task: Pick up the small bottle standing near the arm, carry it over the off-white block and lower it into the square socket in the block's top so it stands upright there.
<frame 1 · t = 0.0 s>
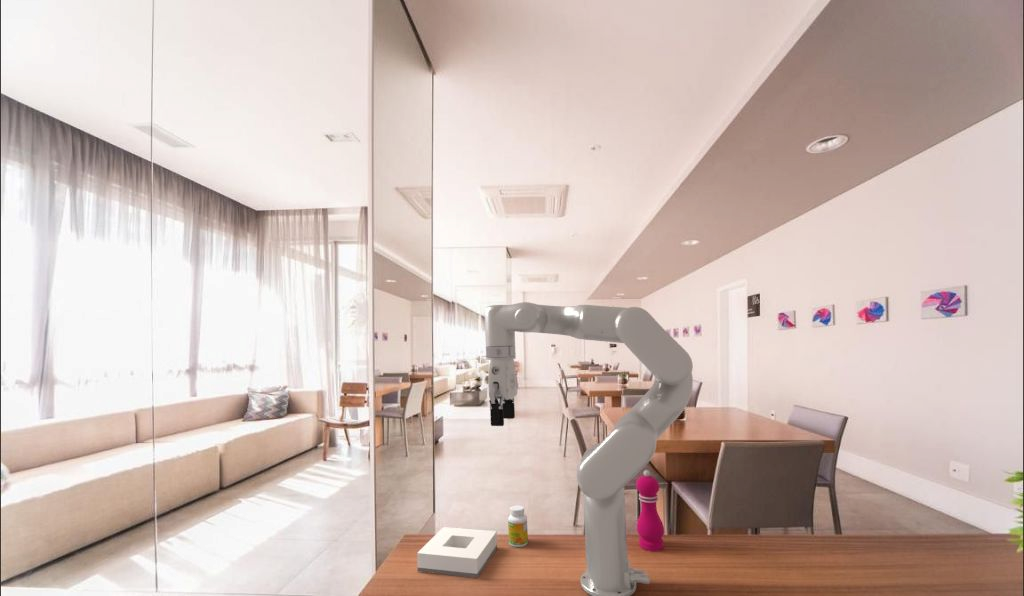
hand: (503, 421, 115), 37 cm above the table, tool pointing down, fingers open, 9 cm apart
pepper mill: (651, 546, 124), on the table
supplement bottle: (518, 544, 128), on the table
socket block: (459, 559, 120), on the table
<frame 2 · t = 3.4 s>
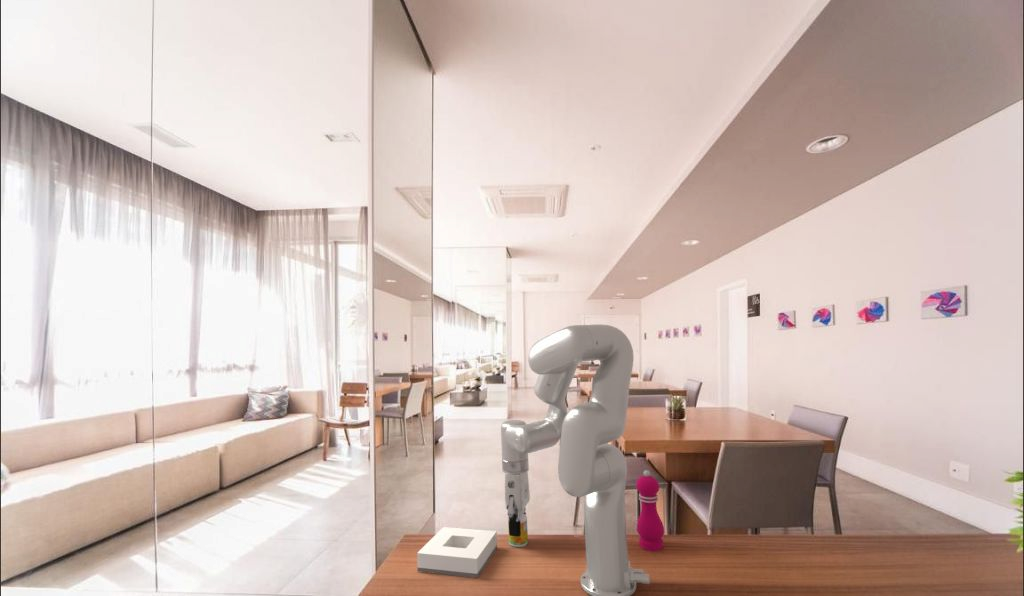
hand: (517, 530, 129), 4 cm above the table, tool pointing down, fingers closed on supplement bottle, 5 cm apart
supplement bottle: (518, 543, 129), on the table, touching gripper
everything else where it was.
when the fingers open (5 cm above the table, at t = 8.8 s): supplement bottle stays where it is, resting on socket block.
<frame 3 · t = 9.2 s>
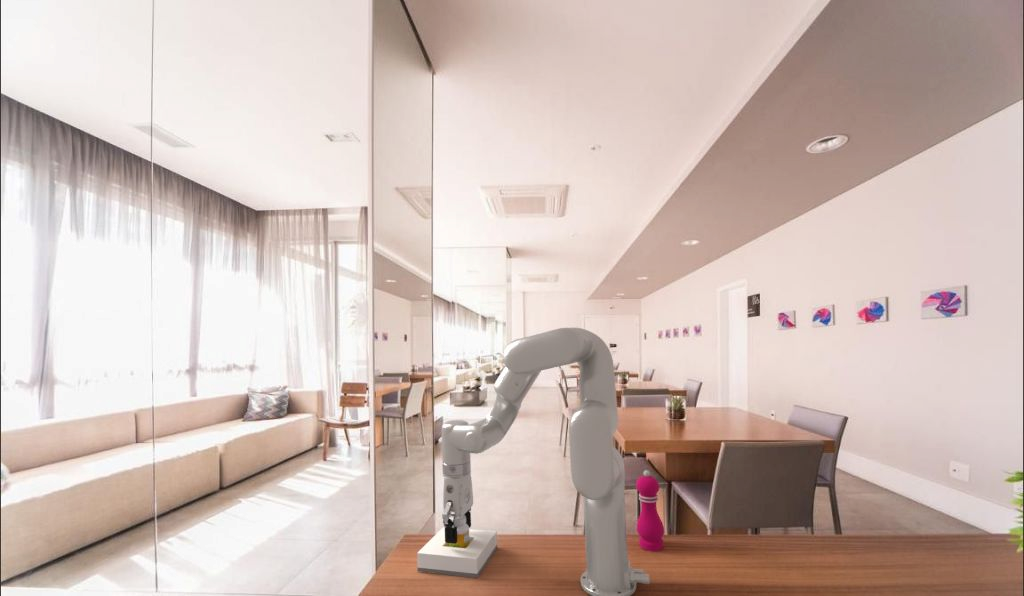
hand: (458, 534, 121), 6 cm above the table, tool pointing down, fingers open, 9 cm apart
supplement bottle: (459, 556, 120), point 1 cm above the table, touching socket block
everything else where it was.
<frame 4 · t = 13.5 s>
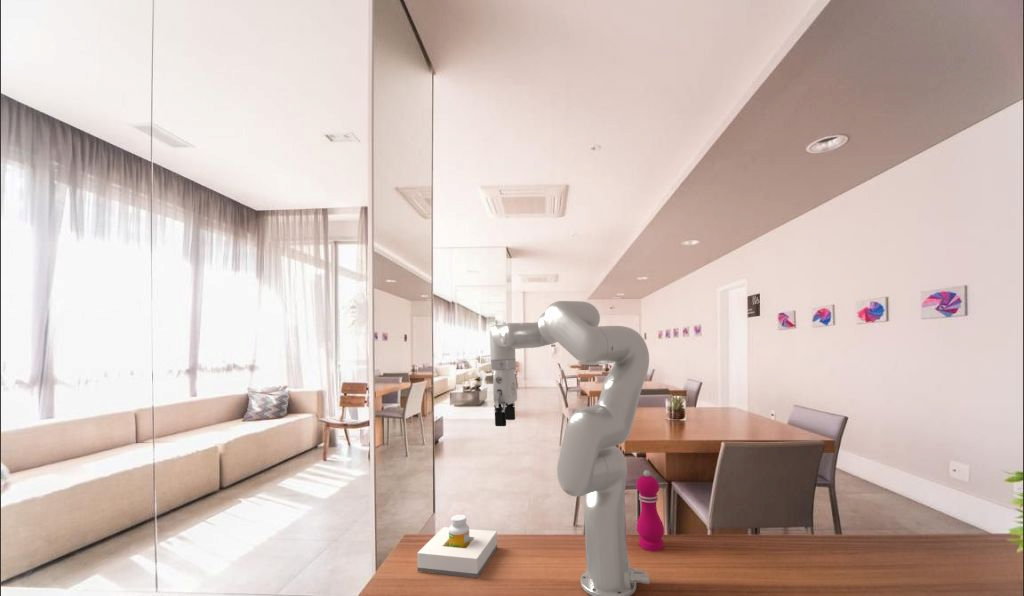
hand: (505, 422, 137), 32 cm above the table, tool pointing down, fingers open, 9 cm apart
nothing on the table moved.
at the end: supplement bottle 0.2 cm off-centre on the socket block, point 0.8 cm above the socket block's base; supplement bottle tilted 0°; the gripper is holding nothing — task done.
